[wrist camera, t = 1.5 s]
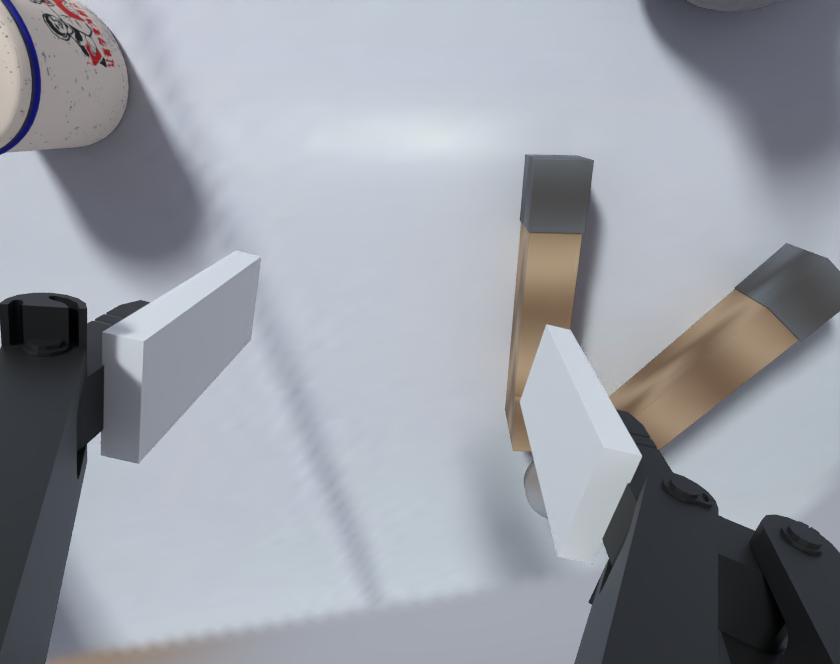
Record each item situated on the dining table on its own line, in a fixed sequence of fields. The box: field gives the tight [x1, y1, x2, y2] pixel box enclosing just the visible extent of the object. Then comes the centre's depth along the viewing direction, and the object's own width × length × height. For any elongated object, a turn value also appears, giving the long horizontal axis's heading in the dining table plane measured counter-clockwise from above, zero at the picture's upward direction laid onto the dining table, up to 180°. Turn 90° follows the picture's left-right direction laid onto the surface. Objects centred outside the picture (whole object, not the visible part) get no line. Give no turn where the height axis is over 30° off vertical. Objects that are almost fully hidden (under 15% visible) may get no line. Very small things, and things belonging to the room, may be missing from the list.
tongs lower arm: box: [609, 243, 840, 450], centre depth 36 cm, size 22×5×4 cm, turn 139°
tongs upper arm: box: [505, 155, 594, 518], centre depth 35 cm, size 23×6×6 cm, turn 179°
